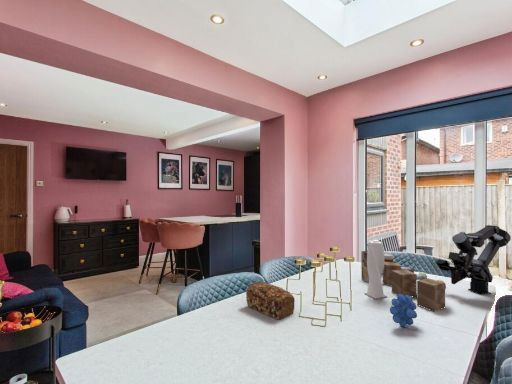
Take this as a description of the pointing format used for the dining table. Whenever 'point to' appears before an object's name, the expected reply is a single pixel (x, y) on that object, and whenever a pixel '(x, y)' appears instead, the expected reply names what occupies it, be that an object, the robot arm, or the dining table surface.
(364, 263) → the coffee box
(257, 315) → the dining table surface
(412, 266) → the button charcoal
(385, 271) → the box left
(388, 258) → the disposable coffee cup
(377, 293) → the skyscraper
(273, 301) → the bread
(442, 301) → the box right
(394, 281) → the box middle
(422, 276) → the button sage
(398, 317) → the grapes
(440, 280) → the button terracotta
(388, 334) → the dining table surface
